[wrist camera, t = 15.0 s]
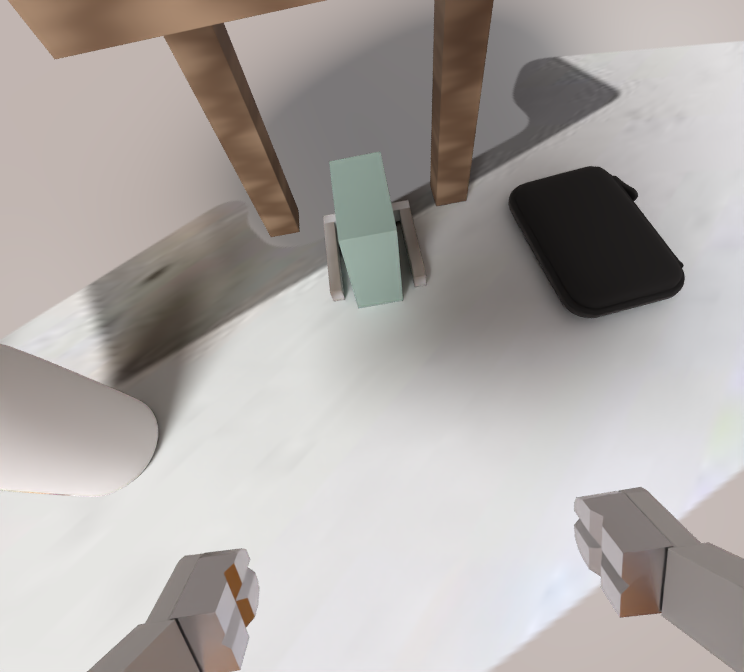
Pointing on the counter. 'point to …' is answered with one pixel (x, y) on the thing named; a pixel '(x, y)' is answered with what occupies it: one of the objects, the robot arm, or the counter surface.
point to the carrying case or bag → (595, 242)
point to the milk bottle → (68, 430)
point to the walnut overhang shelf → (238, 108)
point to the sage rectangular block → (366, 229)
